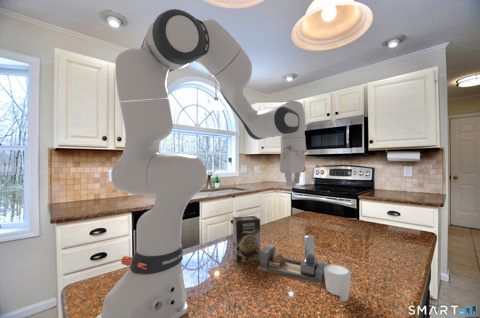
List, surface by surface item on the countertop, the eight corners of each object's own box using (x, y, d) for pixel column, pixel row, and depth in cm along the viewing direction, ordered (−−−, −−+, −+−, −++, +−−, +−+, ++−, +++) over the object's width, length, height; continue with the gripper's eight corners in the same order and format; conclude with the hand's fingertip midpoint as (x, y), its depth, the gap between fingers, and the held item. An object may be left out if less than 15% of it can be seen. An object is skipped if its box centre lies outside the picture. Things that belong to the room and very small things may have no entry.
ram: (314, 279, 65) (313, 240, 66) (300, 276, 67) (300, 238, 68) (318, 269, 72) (317, 234, 72) (305, 266, 74) (305, 232, 74)
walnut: (281, 269, 72) (281, 257, 72) (270, 266, 74) (270, 254, 74) (285, 264, 75) (285, 252, 76) (274, 261, 77) (274, 250, 78)
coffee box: (236, 267, 77) (236, 221, 77) (232, 259, 83) (232, 216, 83) (261, 263, 79) (260, 219, 80) (255, 256, 86) (254, 215, 86)
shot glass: (343, 287, 64) (343, 263, 64) (356, 302, 57) (356, 275, 57) (320, 288, 64) (319, 263, 64) (330, 303, 57) (330, 276, 57)
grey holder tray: (319, 290, 63) (319, 267, 63) (256, 273, 73) (256, 253, 73) (325, 273, 72) (325, 253, 72) (269, 260, 82) (269, 242, 82)
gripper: (293, 144, 70) (294, 188, 69) (307, 148, 87) (308, 182, 87) (274, 145, 73) (275, 187, 72) (292, 148, 90) (292, 182, 90)
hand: (293, 184), depth 80 cm, fingers open, 8 cm apart
